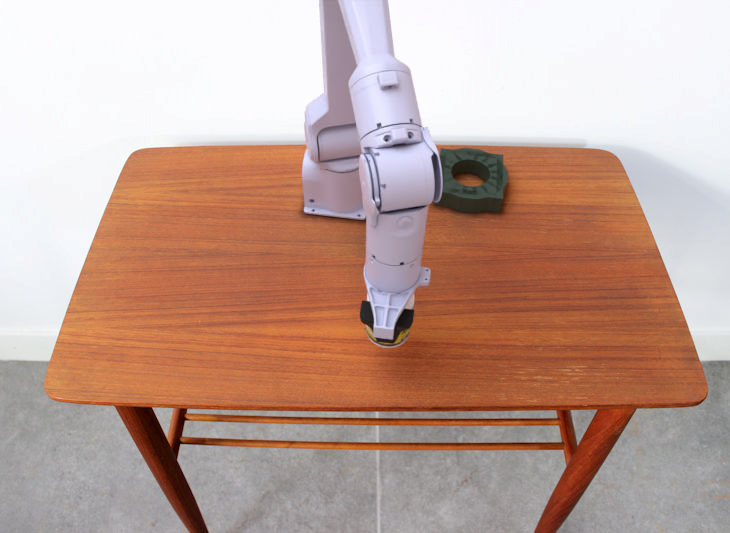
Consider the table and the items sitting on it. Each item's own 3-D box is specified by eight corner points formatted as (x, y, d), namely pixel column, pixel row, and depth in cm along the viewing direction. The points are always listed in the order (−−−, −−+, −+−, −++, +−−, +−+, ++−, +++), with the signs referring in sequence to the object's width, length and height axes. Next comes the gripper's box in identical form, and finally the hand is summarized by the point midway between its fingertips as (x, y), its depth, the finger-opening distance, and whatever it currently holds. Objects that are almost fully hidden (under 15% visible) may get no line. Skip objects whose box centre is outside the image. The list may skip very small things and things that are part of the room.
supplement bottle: (406, 353, 71) (412, 306, 63) (361, 345, 71) (362, 297, 63) (413, 315, 74) (420, 266, 66) (370, 308, 74) (372, 258, 67)
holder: (429, 208, 92) (431, 194, 90) (434, 158, 99) (436, 144, 97) (504, 216, 91) (507, 202, 89) (504, 166, 98) (507, 152, 96)
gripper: (428, 308, 55) (417, 378, 66) (439, 196, 64) (428, 274, 74) (352, 298, 56) (353, 369, 66) (374, 189, 64) (371, 267, 75)
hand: (388, 318), depth 70 cm, fingers closed on supplement bottle, 5 cm apart
